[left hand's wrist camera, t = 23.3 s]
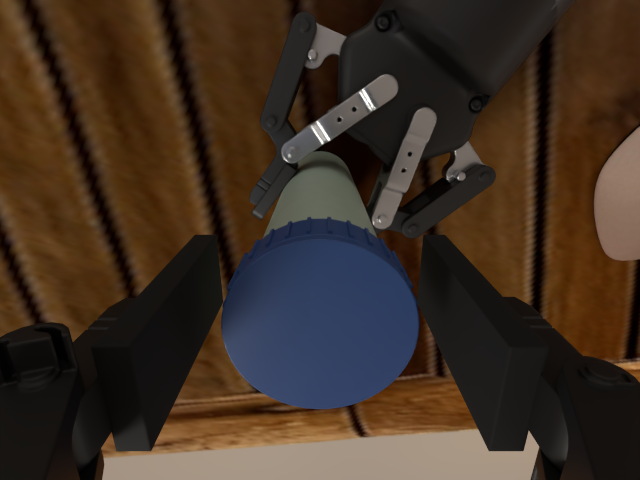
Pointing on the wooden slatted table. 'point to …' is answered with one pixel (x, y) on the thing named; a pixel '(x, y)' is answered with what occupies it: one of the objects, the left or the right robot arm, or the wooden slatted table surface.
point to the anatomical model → (620, 201)
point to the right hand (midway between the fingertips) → (295, 238)
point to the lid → (320, 315)
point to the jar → (320, 194)
